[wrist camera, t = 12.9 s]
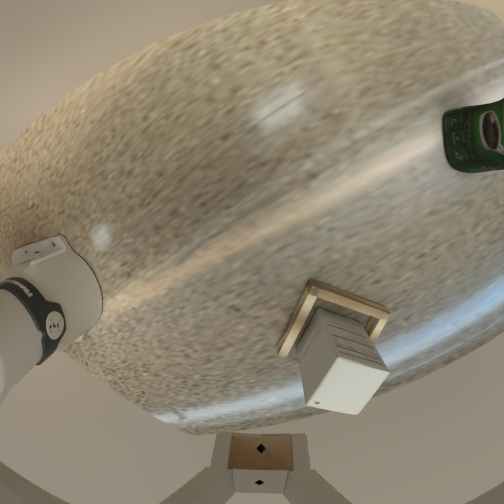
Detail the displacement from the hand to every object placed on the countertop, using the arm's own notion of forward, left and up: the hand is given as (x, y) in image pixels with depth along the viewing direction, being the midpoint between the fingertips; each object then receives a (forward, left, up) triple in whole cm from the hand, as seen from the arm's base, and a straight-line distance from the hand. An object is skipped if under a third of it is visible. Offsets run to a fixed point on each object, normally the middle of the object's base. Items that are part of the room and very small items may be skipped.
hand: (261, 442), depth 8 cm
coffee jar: (+29, +17, -29) cm, 45 cm away
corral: (+10, -12, -29) cm, 33 cm away
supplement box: (+10, -13, -29) cm, 33 cm away
